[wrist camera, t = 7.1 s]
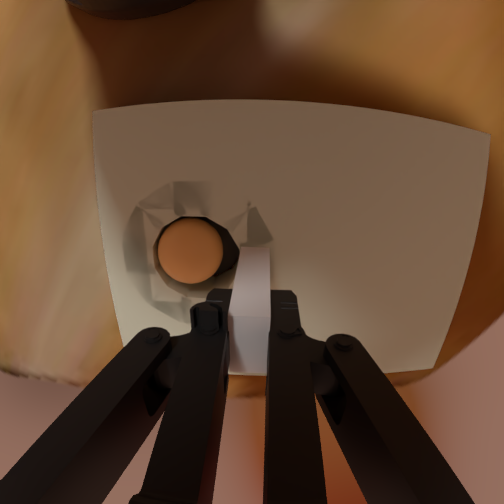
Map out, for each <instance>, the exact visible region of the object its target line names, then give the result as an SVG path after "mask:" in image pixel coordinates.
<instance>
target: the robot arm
mask: <svg viewBox="0 0 504 504" xmlns="http://www.w3.org/2000/svg"><path fill="white" fill-rule="evenodd" d="M65 1H67V2H68V3H70V4H71V5H73V6H75V7H77V8H79V9H81V10H83V11H85V12H87V13H89V14H92V15H94V16H98V17H101V18H107V19H119V20H123V19H137V18H144V17H149V16H154V15H158V14H162V13H165V12H168V11H171V10H174V9H177V8H180V7H182V6H185V5H187V4H189V3H191V2H194V1H196V0H65ZM190 319H191V331H190V332H189V333H187V334H183V335H178V336H170V333H169V332H168V331H167V330H166V329H164V328H161V327H148V328H146V329H143V330H141V331H140V332H138V333H137V334H136V335H135V336H134V337H133V338H132V339H131V340H130V341H129V342H128V344H127V345H126V346H125V347H124V348H123V349H122V350H121V351H120V352H119V353H118V354H117V355H116V356H115V357H114V358H113V359H112V360H111V361H110V362H109V363H108V364H107V365H106V366H105V367H104V369H103V370H102V371H101V372H100V373H99V374H98V375H97V376H96V377H95V378H94V379H93V380H92V381H91V382H90V383H89V384H88V385H87V386H86V388H85V389H84V390H83V391H82V392H81V393H80V394H79V395H78V396H77V397H76V398H75V399H74V401H72V402H71V404H70V405H69V406H68V407H67V408H66V409H65V410H64V411H63V412H62V414H60V415H59V417H58V418H57V419H56V420H55V421H54V422H53V423H52V424H51V425H50V426H49V427H48V428H47V430H46V431H45V432H44V433H43V434H42V435H41V436H40V437H39V438H38V439H37V440H36V442H35V443H34V444H33V445H32V446H31V447H30V448H29V450H27V452H26V453H25V454H24V455H23V456H22V457H21V458H20V459H19V460H18V462H17V463H16V464H15V465H14V466H13V467H12V468H11V469H10V471H9V472H8V473H7V474H6V475H5V476H4V477H3V479H1V480H0V504H102V502H103V501H104V500H105V498H106V497H107V495H108V494H109V492H110V491H111V489H112V488H113V487H114V485H115V484H116V482H117V481H118V479H119V478H120V476H121V475H122V473H123V472H124V470H125V469H126V468H127V466H128V464H129V463H130V462H131V460H132V459H133V457H134V456H135V454H136V453H137V451H138V450H139V448H140V447H141V445H142V444H143V442H144V441H145V439H146V438H147V436H148V435H149V433H150V432H151V430H152V429H153V427H154V426H155V424H156V423H157V421H158V420H159V418H160V417H161V415H162V414H163V412H164V411H165V412H164V415H163V418H162V421H161V425H160V428H159V431H158V434H157V438H156V441H155V444H154V448H153V451H152V454H151V458H150V461H149V464H148V468H147V472H146V475H145V479H144V482H143V485H142V489H141V491H140V492H139V493H138V494H136V495H133V496H132V498H131V499H130V501H129V504H212V500H213V492H214V485H215V477H216V469H217V463H218V455H219V448H220V441H221V433H222V425H223V418H224V411H225V404H226V396H227V389H228V382H229V378H228V370H229V372H245V373H267V376H266V391H265V395H266V413H265V414H266V415H265V452H264V486H263V504H327V497H326V487H325V477H324V468H323V459H322V451H321V442H320V434H319V426H318V418H317V410H316V403H315V395H314V393H315V394H316V398H317V400H318V402H319V404H320V406H321V408H322V411H323V413H324V415H325V417H326V418H327V421H328V423H329V425H330V427H331V429H332V431H333V433H334V435H335V438H336V440H337V441H338V443H339V446H340V448H341V450H342V452H343V454H344V456H345V458H346V460H347V462H348V464H349V466H350V468H351V470H352V473H353V474H354V477H355V479H356V480H357V483H358V485H359V487H360V489H361V491H362V493H363V495H364V497H365V499H366V501H367V503H368V504H475V503H474V502H473V500H472V499H471V497H470V496H469V494H468V493H467V491H466V490H465V488H464V487H463V485H462V484H461V482H460V481H459V479H458V478H457V476H456V475H455V473H454V472H453V470H452V469H451V467H450V466H449V464H448V463H447V462H446V460H445V459H444V457H443V456H442V454H441V453H440V451H439V450H438V448H437V447H436V446H435V444H434V443H433V441H432V440H431V439H430V437H429V436H428V434H427V433H426V431H425V430H424V429H423V427H422V426H421V424H420V423H419V421H418V420H417V419H416V417H415V416H414V415H413V413H412V412H411V410H410V409H409V408H408V406H407V405H406V403H405V402H404V401H403V399H402V398H401V396H400V395H399V394H398V392H397V391H396V390H395V388H394V387H393V385H392V384H391V383H390V381H389V380H388V379H387V377H386V376H385V374H384V373H383V372H382V370H381V369H380V368H379V366H378V365H377V364H376V362H375V361H374V360H373V358H372V357H371V356H370V354H369V353H368V352H367V350H366V349H365V348H364V346H363V345H362V344H361V342H360V341H359V340H358V339H357V338H356V337H353V336H351V335H348V334H334V335H331V336H330V337H328V338H327V340H326V342H324V341H320V340H316V339H313V338H311V337H309V336H307V335H306V333H305V331H304V329H303V328H302V327H301V321H300V315H299V309H298V301H297V296H296V295H295V294H294V293H293V292H292V290H270V248H265V247H241V250H240V255H239V260H238V265H237V270H236V275H235V281H234V286H233V289H222V288H214V289H212V290H211V291H210V292H209V293H208V294H207V297H206V301H205V302H200V303H197V304H195V305H194V306H192V307H191V309H190Z"/></svg>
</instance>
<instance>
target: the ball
mask: <svg viewBox="0 0 504 504" xmlns="http://www.w3.org/2000/svg"><path fill="white" fill-rule="evenodd" d="M158 257H159V261H160V264H161V266H162V268H163V269H164V271H165V272H166V273H167V274H168V275H169V276H170V277H171V278H173V279H175V280H177V281H179V282H182V283H187V284H193V283H199V282H202V281H205V280H206V279H208V278H210V277H211V276H212V275H213V274H214V273H215V272H216V271H217V269H218V268H219V266H220V264H221V261H222V258H223V244H222V240H221V237H220V235H219V233H218V232H217V231H216V229H215V228H214V227H213V226H212V225H210V224H209V223H208V222H206V221H204V220H201V219H198V218H183V219H180V220H177V221H175V222H173V223H172V224H171V225H169V226H168V227H167V228H166V229H165V231H164V232H163V234H162V235H161V238H160V240H159V244H158Z"/></svg>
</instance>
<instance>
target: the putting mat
mask: <svg viewBox="0 0 504 504" xmlns="http://www.w3.org/2000/svg"><path fill="white" fill-rule="evenodd" d="M490 136H491V134H487V133H484V132H480V131H477V130H473V129H470V128H466V127H462V126H458V125H454V124H450V123H445V122H441V121H437V120H432V119H427V118H423V117H418V116H412V115H407V114H401V113H396V112H390V111H383V110H377V109H370V108H363V107H355V106H346V105H337V104H327V103H315V102H302V101H284V100H249V99H229V100H194V101H177V102H163V103H152V104H141V105H132V106H124V107H116V108H109V109H102V110H96V111H93V148H94V165H95V179H96V190H97V201H98V210H99V218H100V226H101V234H102V241H103V247H104V254H105V260H106V266H107V272H108V277H109V283H110V288H111V293H112V298H113V303H114V307H115V312H116V316H117V321H118V325H119V329H120V334H121V338H122V342H123V345H124V347H125V346H126V345H127V344H128V342H129V341H130V340H131V339H132V338H133V337H134V336H135V335H136V334H137V333H138V332H140V331H141V330H143V329H146V328H148V327H161V328H164V329H166V330H167V331H168V332H169V333H170V336H178V335H183V334H187V333H189V332H190V331H191V319H190V309H191V307H192V306H194V305H195V304H197V303H200V302H205V301H206V297H207V294H208V293H209V292H210V291H211V290H212V289H214V288H222V289H233V286H234V281H235V275H236V270H237V265H238V261H237V262H236V260H237V259H238V257H239V254H240V250H241V247H265V248H270V290H292V292H293V293H294V294H295V295H296V296H297V301H298V309H299V315H300V321H301V327H302V328H303V329H304V331H305V333H306V335H307V336H309V337H311V338H313V339H316V340H320V341H324V342H326V340H327V338H328V337H330V336H331V335H334V334H348V335H351V336H353V337H356V338H357V339H358V340H359V341H360V342H361V344H362V345H363V346H364V348H365V349H366V350H367V352H368V353H369V354H370V356H371V357H372V358H373V360H374V361H375V362H376V364H377V365H378V366H379V368H380V369H381V370H382V372H383V373H393V372H404V371H414V370H423V369H431V368H433V367H434V364H435V362H436V360H437V357H438V355H439V353H440V350H441V348H442V345H443V343H444V340H445V337H446V335H447V332H448V330H449V327H450V324H451V321H452V318H453V316H454V313H455V310H456V307H457V304H458V301H459V298H460V294H461V291H462V288H463V285H464V281H465V278H466V274H467V271H468V267H469V263H470V259H471V255H472V251H473V247H474V243H475V239H476V234H477V230H478V225H479V220H480V214H481V209H482V203H483V197H484V191H485V184H486V177H487V169H488V160H489V149H490ZM183 218H198V219H201V220H204V221H206V222H208V223H209V224H210V225H212V226H213V227H214V228H215V229H216V231H217V232H218V233H219V235H220V237H221V240H222V244H223V258H222V261H221V264H220V266H219V268H218V269H217V271H216V272H215V273H214V274H213V275H212V276H211V277H210V278H208V279H206V280H205V281H202V282H199V283H193V284H187V283H182V282H179V281H177V280H175V279H173V278H171V277H170V276H169V275H168V274H167V273H166V272H165V271H164V269H163V268H162V266H161V264H160V261H159V257H158V244H159V240H160V238H161V235H162V234H163V232H164V231H165V229H166V228H167V227H168V226H169V225H170V223H171V222H172V221H173V222H175V221H177V220H180V219H183ZM173 222H172V223H173ZM172 223H171V224H172ZM238 260H239V259H238ZM235 262H236V264H235V265H234V267H233V268H232V269H230V270H228V269H229V268H231V266H232V265H233V264H234V263H235ZM227 270H228V271H227ZM225 271H226V272H225ZM223 272H224V273H223ZM221 273H222V274H221ZM218 274H220V275H218ZM214 275H218V276H216V277H213V276H214ZM228 374H234V375H255V376H267V373H245V372H229V370H228Z"/></svg>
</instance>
